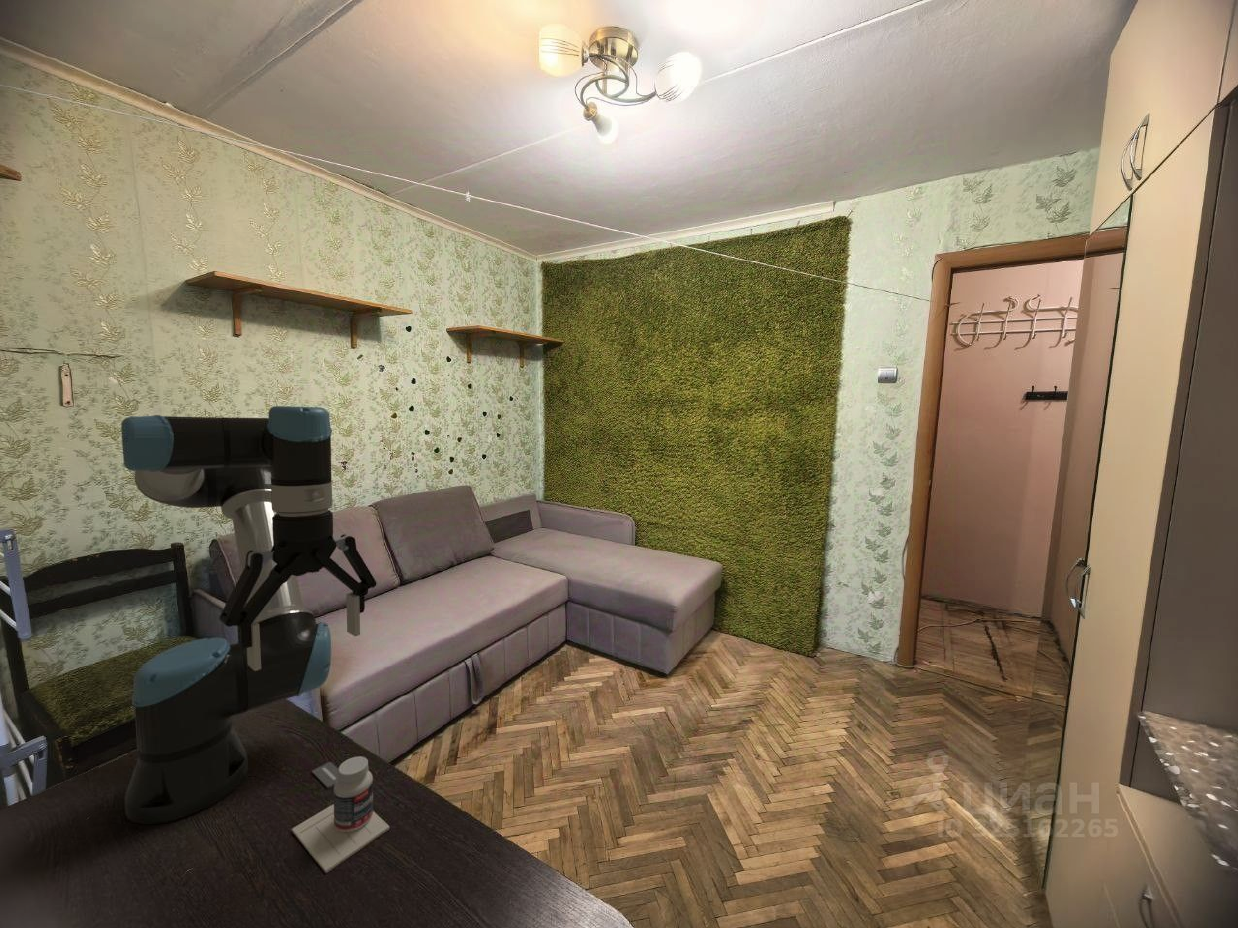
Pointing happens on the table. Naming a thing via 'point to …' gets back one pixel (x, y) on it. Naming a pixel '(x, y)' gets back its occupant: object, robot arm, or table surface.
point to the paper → (335, 837)
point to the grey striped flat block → (327, 774)
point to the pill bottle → (353, 795)
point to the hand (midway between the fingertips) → (307, 649)
